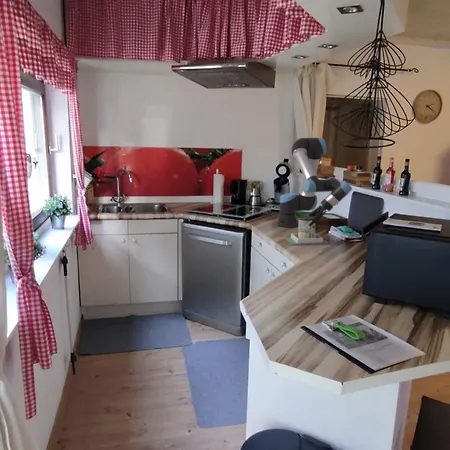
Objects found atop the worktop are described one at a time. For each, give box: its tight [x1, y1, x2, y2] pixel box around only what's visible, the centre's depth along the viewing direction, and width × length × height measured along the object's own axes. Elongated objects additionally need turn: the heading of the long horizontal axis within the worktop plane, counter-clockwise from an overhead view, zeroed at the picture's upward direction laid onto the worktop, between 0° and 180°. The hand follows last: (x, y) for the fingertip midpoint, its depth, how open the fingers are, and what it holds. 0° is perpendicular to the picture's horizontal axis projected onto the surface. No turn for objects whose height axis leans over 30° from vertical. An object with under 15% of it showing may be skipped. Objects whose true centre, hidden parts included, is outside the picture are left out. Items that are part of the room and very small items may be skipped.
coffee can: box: [297, 215, 316, 239], centre depth 249 cm, size 10×10×14 cm
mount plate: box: [284, 232, 329, 246], centre depth 250 cm, size 17×22×4 cm
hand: (303, 226), depth 249 cm, fingers open, 13 cm apart
